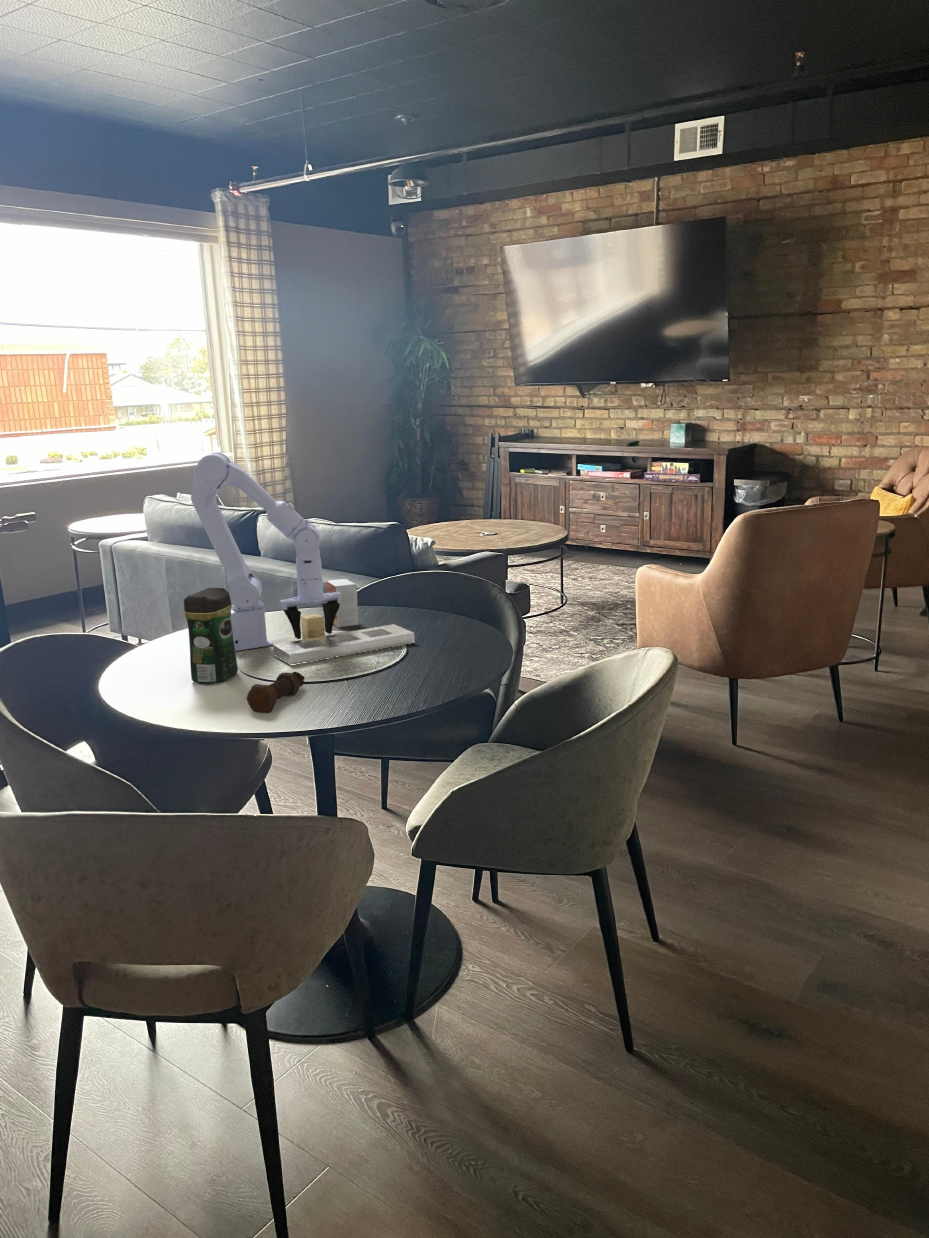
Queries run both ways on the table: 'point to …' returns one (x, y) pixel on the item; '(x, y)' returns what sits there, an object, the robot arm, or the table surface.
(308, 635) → the block
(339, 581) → the small box
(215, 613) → the coffee jar
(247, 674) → the table surface
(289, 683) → the bolt
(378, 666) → the table surface
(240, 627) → the robot arm
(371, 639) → the board
